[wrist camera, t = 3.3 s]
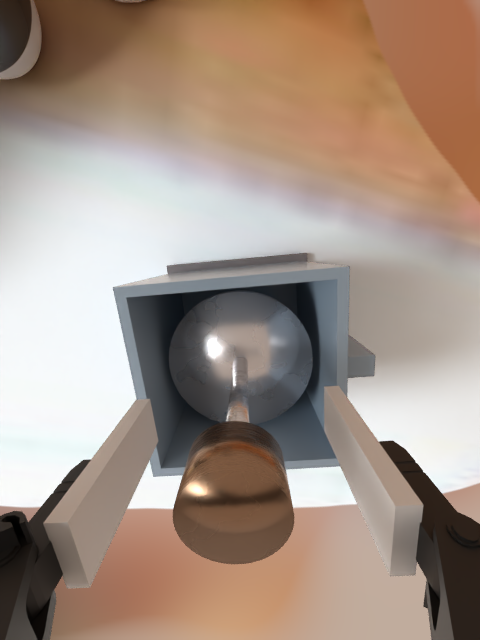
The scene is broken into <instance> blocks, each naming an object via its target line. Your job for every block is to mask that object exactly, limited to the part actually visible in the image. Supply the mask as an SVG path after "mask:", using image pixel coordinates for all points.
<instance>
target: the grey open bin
mask: <svg viewBox="0 0 480 640" xmlns="http://www.w3.org/2000/svg"><path fill="white" fill-rule="evenodd" d="M167 271H168V274H166V275H161V276H157V277H153V278H149V279H145V280H141V281H137V282H133V283H129V284H124V285H120V286H116V287H113V291H114V295H115V300H116V305H117V309H118V314H119V319H120V323H121V328H122V333H123V337H124V342H125V347H126V351H127V356H128V361H129V365H130V370H131V375H132V379H133V384H134V389H135V393H136V398H137V400H140V399H150V402H151V407H152V412H153V417H154V422H155V427H156V432H157V437H158V443H157V445H156V447H155V449H154V451H153V454H152V456H151V458H150V463H151V468H152V472H153V477H157V476H175V475H183V473H184V469H185V466H186V462H187V459H188V455H189V452H190V449H191V446H192V444H193V442H194V441H195V439H196V438H197V437H198V436H199V435H200V434H201V433H202V432H203V431H204V430H206V429H207V428H209V427H211V426H213V425H216V424H218V423H220V422H217V421H214V420H212V419H209V418H207V417H205V416H203V415H202V414H200V413H199V412H197V411H196V410H195V409H193V408H192V407H191V406H190V405H189V404H188V403H187V402H186V401H185V400H184V399H183V397H182V396H181V395H180V393H179V392H178V390H177V388H176V386H175V384H174V382H173V379H172V376H171V372H170V367H169V349H170V344H171V340H172V337H173V334H174V332H175V330H176V328H177V326H178V325H179V323H180V322H181V320H182V319H183V318H184V317H185V316H186V314H187V313H188V312H189V311H190V310H191V309H192V308H194V307H195V306H196V305H197V304H198V303H200V302H202V301H203V300H205V299H207V298H209V297H211V296H213V295H216V294H219V293H223V292H228V291H236V290H245V291H254V292H258V293H262V294H265V295H267V296H270V297H272V298H274V299H276V300H278V301H280V302H281V303H282V304H284V305H285V306H286V307H288V308H289V309H290V310H291V311H292V312H293V313H294V314H295V315H296V317H297V318H298V319H299V320H300V322H301V323H302V324H303V326H304V328H305V330H306V332H307V334H308V336H309V339H310V342H311V346H312V353H313V367H312V372H311V376H310V379H309V382H308V385H307V387H306V388H305V390H304V392H303V394H302V395H301V397H300V398H299V399H298V400H297V401H296V403H295V404H294V405H293V406H292V407H290V408H289V409H288V410H287V411H285V412H284V413H282V414H281V415H279V416H277V417H275V418H273V419H271V420H269V421H266V422H263V423H259V424H254V425H257V426H259V427H261V428H263V429H265V430H266V431H268V432H269V433H270V434H271V435H272V436H273V437H274V438H275V439H276V441H277V442H278V444H279V446H280V448H281V450H282V453H283V458H284V464H285V469H300V468H318V467H336V466H340V464H339V462H338V460H337V458H336V455H335V453H334V451H333V449H332V446H331V444H330V442H329V440H328V438H327V435H326V433H325V431H324V387H327V386H339V387H340V388H341V390H342V391H343V393H344V394H345V395H346V397H347V378H353V377H367V376H374V369H375V355H374V354H373V353H372V352H370V351H369V350H368V349H366V348H365V347H364V346H363V345H361V344H360V343H359V342H357V341H356V340H355V339H353V338H352V337H351V336H350V335H348V322H349V266H342V265H333V264H324V263H314V262H307V253H300V254H289V255H279V256H268V257H257V258H246V259H235V260H224V261H213V262H202V263H191V264H181V265H170V266H167Z"/></svg>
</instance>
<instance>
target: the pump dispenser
mask: <svg viewBox="0 0 480 640" xmlns="http://www.w3.org/2000/svg"><path fill="white" fill-rule="evenodd" d="M41 42H42V33H41V25H40V19H39V15H38V12H37V9H36V5H35V3H34V0H0V79H14V78H17V77H20V76H22V75H24V74H26V73H27V72H28V71H30V70H31V69H32V67H33V66H34V65H35V63H36V61H37V59H38V57H39V54H40V50H41Z"/></svg>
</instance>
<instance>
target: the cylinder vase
mask: <svg viewBox="0 0 480 640" xmlns="http://www.w3.org/2000/svg"><path fill="white" fill-rule="evenodd" d="M115 1H119V2H126V3H134V2H141V1H145V0H115Z"/></svg>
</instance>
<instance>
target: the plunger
mask: <svg viewBox="0 0 480 640" xmlns="http://www.w3.org/2000/svg"><path fill="white" fill-rule="evenodd" d="M169 367H170V372H171V376H172V379H173V382H174V384H175V386H176V388H177V390H178V392H179V393H180V395H181V396H182V397H183V399H184V400H185V401H186V402H187V403H188V404H189V405H190V406H191V407H192V408H193V409H195V410H196V411H197V412H199V413H200V414H202V415H203V416H205V417H207V418H209V419H212V420H214V421H217V422H220V423H218V424H216V425H213V426H211V427H209V428H207V429H206V430H204V431H203V432H202V433H201V434H200V435H199V436H198V437H197V438H196V439H195V441H194V442H193V444H192V446H191V449H190V452H189V455H188V459H187V462H186V466H185V469H184V473H183V476H182V480H181V483H180V487H179V490H178V494H177V497H176V501H175V504H174V509H173V523H174V527H175V530H176V532H177V534H178V536H179V537H180V539H181V540H182V541H183V542H184V544H185V545H186V546H187V547H189V548H190V549H191V550H192V551H194V552H195V553H196V554H198V555H200V556H202V557H204V558H207V559H209V560H212V561H216V562H220V563H226V564H246V563H251V562H255V561H259V560H262V559H264V558H266V557H268V556H270V555H272V554H274V553H275V552H276V551H278V550H279V549H280V548H281V547H282V546H283V545H284V544H285V543H286V541H287V540H288V538H289V537H290V535H291V532H292V530H293V525H294V513H293V506H292V501H291V496H290V490H289V485H288V480H287V474H286V469H285V464H284V458H283V453H282V450H281V448H280V446H279V444H278V442H277V441H276V439H275V438H274V437H273V436H272V435H271V434H270V433H269V432H268V431H266V430H265V429H263V428H261V427H259V426H257V425H254V424H259V423H263V422H266V421H269V420H271V419H273V418H275V417H277V416H279V415H281V414H282V413H284V412H285V411H287V410H288V409H289V408H290V407H292V406H293V405H294V404H295V403H296V401H297V400H298V399H299V398H300V397H301V395H302V394H303V392H304V390H305V388H306V387H307V385H308V382H309V379H310V376H311V372H312V367H313V353H312V346H311V342H310V339H309V336H308V334H307V332H306V330H305V328H304V326H303V324H302V323H301V322H300V320H299V319H298V318H297V317H296V315H295V314H294V313H293V312H292V311H291V310H290V309H289V308H288V307H286V306H285V305H284V304H282V303H281V302H280V301H278V300H276V299H274V298H272V297H270V296H267V295H265V294H262V293H258V292H254V291H245V290H236V291H228V292H223V293H219V294H216V295H213V296H211V297H209V298H207V299H205V300H203V301H202V302H200V303H198V304H197V305H196V306H195V307H194V308H192V309H191V310H190V311H189V312H188V313H187V314H186V316H185V317H184V318H183V319H182V320H181V322H180V323H179V325H178V326H177V328H176V330H175V332H174V334H173V337H172V340H171V344H170V349H169Z"/></svg>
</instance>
